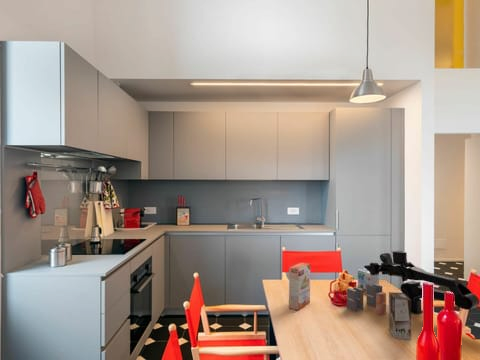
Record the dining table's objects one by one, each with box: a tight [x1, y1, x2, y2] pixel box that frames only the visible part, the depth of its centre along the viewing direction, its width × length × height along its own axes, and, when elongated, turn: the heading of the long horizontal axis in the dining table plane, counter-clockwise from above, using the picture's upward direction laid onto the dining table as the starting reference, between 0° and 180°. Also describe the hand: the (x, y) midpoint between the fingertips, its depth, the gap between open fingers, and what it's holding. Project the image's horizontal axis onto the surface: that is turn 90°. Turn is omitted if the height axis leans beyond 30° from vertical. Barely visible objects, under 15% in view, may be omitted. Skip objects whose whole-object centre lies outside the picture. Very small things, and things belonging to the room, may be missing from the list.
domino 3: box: [365, 284, 376, 308], centre depth 161 cm, size 5×2×10 cm, turn 25°
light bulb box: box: [357, 268, 380, 290], centre depth 187 cm, size 11×7×11 cm, turn 25°
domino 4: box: [372, 283, 383, 293], centre depth 163 cm, size 5×2×10 cm, turn 25°
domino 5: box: [375, 291, 387, 316], centre depth 150 cm, size 5×2×10 cm, turn 115°
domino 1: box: [346, 287, 358, 312], centre depth 155 cm, size 5×2×10 cm, turn 25°
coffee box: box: [388, 291, 412, 341], centre depth 129 cm, size 9×6×16 cm
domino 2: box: [353, 286, 364, 311], centre depth 157 cm, size 5×2×10 cm, turn 25°
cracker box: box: [288, 262, 311, 311], centre depth 160 cm, size 14×6×21 cm, turn 143°
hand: (369, 266), depth 176 cm, fingers open, 9 cm apart
